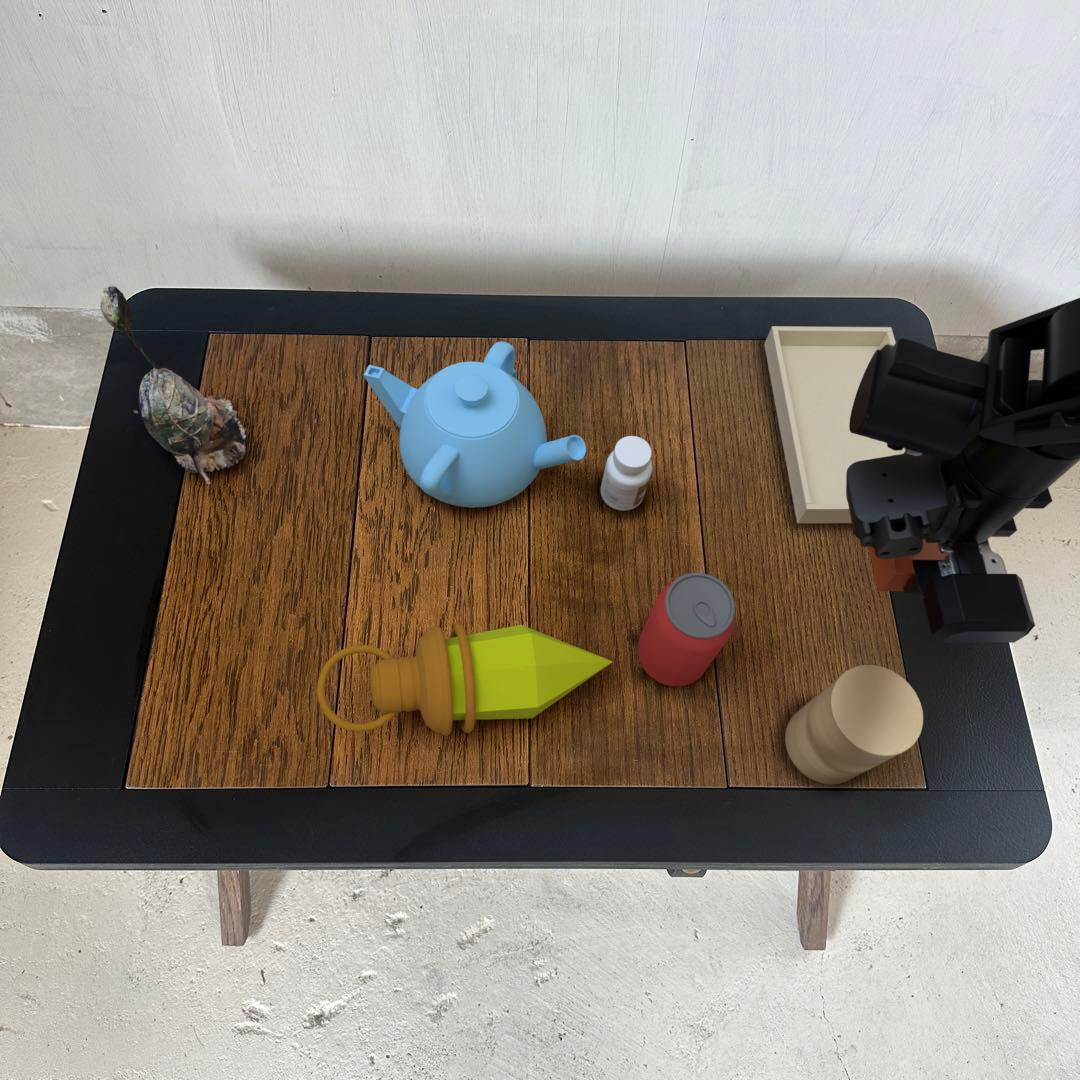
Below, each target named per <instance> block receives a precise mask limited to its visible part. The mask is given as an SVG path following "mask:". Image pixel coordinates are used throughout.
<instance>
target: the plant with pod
mask: <svg viewBox="0 0 1080 1080" xmlns="http://www.w3.org/2000/svg"><path fill="white" fill-rule="evenodd" d="M102 293H103V295H102V297H101V301H100V305H99V306H100V311H101V314H102V316H103V318H104V319H105V320H106V322H107V323H108V324H109V326H111V327H113V328H114V330H116V331H117V332H120V333H126V334H127V336H128V337H129V339H131V341H132V342H133V343H134V345H135V347H137V348H138V349H139V350H140V352H141V354H142V355H143V356H144V358H146V360H147V361H148V362H149V364H151V365H152V367H153V368H152V369H150V370H149V371H148V373H146V374H145V375H144V376H143V377H142V379H141V383H140V386H139V392H138V404H139V411H140V415H141V419H142V421H143V423H144V426H145V428H146V430H147V432H148V433H149V434H150V436H151V437H152V438H154V440H155V441H156V442H157V443H159V445H160V447H162V448H163V449H164V450H165V451H167V452H169V453H170V454H171V455H172V456H174V458H175V459H176V461H175V462H178V465H181V467H182V468H183V470H184V472H188V473H190V474H191V473H192V474H193V475H194V474H200V476H201V477H202V478H203V480H204V481H205V484H206V485H208V486H209V485H210V484H211V480H210V478H209V476H208V474H207V472H211V473H212V472H214V470H215V468H216V470H217V471H220V469H224V468H225V469H226V468H230V467H234V466H235V464H236V465H238V464H239V461H241V460H243V458H245V455H246V453H247V452H246V451H247V450H246V449H247V447H246V442H245V441H246V437H247V435H246V434H245V432H246V430H247V428H245V427H243V424H241V419H240V418H237V416H238V413H239V411H237V410H234V409H233V405H232V400H231V399H226V398H225V397H224V396H222V397H220V396H219V395H216V396H213V395H212V394H211V393H210V392H208V397H205V396H203V395H202V393H201V392H200V391H199V390H198V389H196V388H195V387H193V385H191V384H190V383H189V382H188V381H187V380H185V379H184V378H183V377H182V376H180V375H178V374H177V373H175V372H174V371H173V370H170V369H168V368H166V367H165V368H164V367H161V368H160V366H158V364H156V363H155V361H154V360H153V358H152V357H150V355H149V354H148V352H147V351H146V350H145V349H144V348H143V346H142V345H141V344H140V342H139V341H138V339H137V338H136V336H135V335H134V333H133V332H132V330H131V328H130V327H132V325H133V324H134V323H133V322H134V316H133V312H132V308H131V306H130V305H129V303H128V300H127V298H126V297H125V295H124V293H123V292H122V291H121V290H120V289H119V288H117V287H116V286H114V285H112V286H108V287H104V288H103V291H102ZM139 411H138V410H136V409H133V413H135V414H137V415H139V413H138V412H139Z"/></svg>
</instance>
